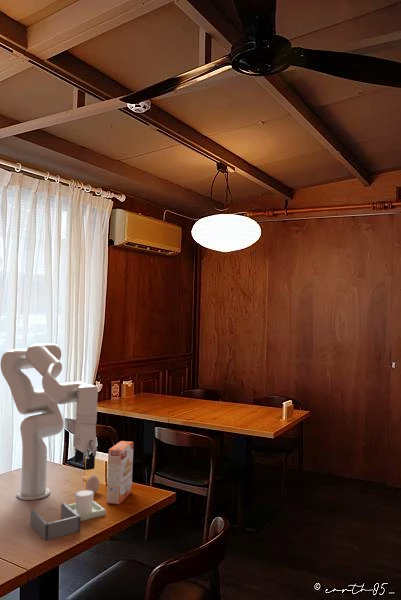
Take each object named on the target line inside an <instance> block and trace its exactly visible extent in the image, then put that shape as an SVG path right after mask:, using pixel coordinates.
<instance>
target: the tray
mask: <svg viewBox="0 0 401 600" xmlns="http://www.w3.org/2000/svg"><path fill="white" fill-rule="evenodd" d="M67 505H68V506H69V507H70V508H71V509H73V510H74V511H75V512H76V502H74V503H69V504H67ZM80 516H81V521H80V522H82V521H87V520H88V521H89V520H91V519H95V518H98V517H99V518H100V517H103V516H106V509H105V508H104V507H102V506H101V505H100V504H99V503H98V502H97V501H94V500H93V506H92V512H89V513H85V514H81V515H80Z"/></svg>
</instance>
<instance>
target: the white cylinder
mask: <svg viewBox="0 0 401 600" xmlns="http://www.w3.org/2000/svg"><path fill="white" fill-rule="evenodd" d="M94 496H95V493H94V492H93V491H92V490H87V489H82V490H81V489H80V490H78V491H76V492H75V493H74V499H75V503H76V513H77V514H79V515H81V514H85V513H89V512H92V506H93V501H94Z"/></svg>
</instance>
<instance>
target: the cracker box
mask: <svg viewBox="0 0 401 600" xmlns="http://www.w3.org/2000/svg"><path fill="white" fill-rule="evenodd" d="M107 454H108V456H107V457H108V458H107V480H106V481H107V482H106V484H107V485H106V504H112V505H120V504H122V502H124V500H126V499H127V497H128V496H130V494H132V487H133V465H134V464H133V463H134V441H127V440H126V441H125V440H121V441H119V442H117V443H116V444H114V445H113V446H112V447H110V448H109V449H108V453H107Z"/></svg>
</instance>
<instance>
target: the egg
mask: <svg viewBox="0 0 401 600" xmlns="http://www.w3.org/2000/svg"><path fill="white" fill-rule="evenodd" d="M85 483H86V486H85V488H86V489H85V490H92V491H93V492H94V494H96V493H98V492H99V489H100V480H99V478H98V476H96V474H95V475H94V474H93V475H90V476H89V477H88V478H87V481H86V482H85Z"/></svg>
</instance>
